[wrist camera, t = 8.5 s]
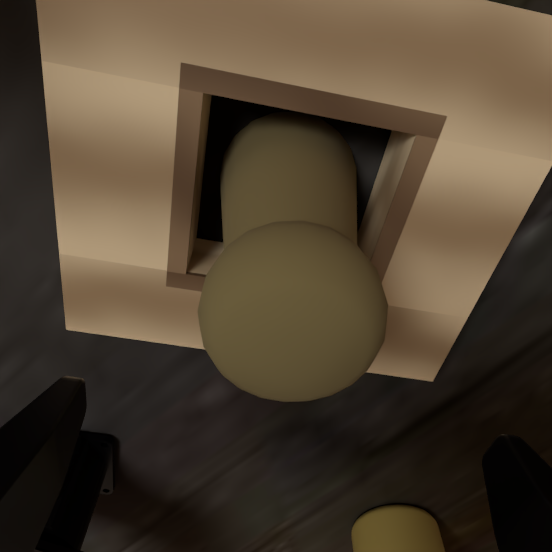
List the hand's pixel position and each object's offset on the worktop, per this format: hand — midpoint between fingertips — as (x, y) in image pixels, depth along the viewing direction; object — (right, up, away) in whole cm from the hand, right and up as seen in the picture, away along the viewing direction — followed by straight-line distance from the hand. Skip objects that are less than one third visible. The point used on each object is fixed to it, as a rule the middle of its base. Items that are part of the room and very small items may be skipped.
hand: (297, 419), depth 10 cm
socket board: (0, +7, +11) cm, 13 cm away
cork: (0, +7, +11) cm, 13 cm away
